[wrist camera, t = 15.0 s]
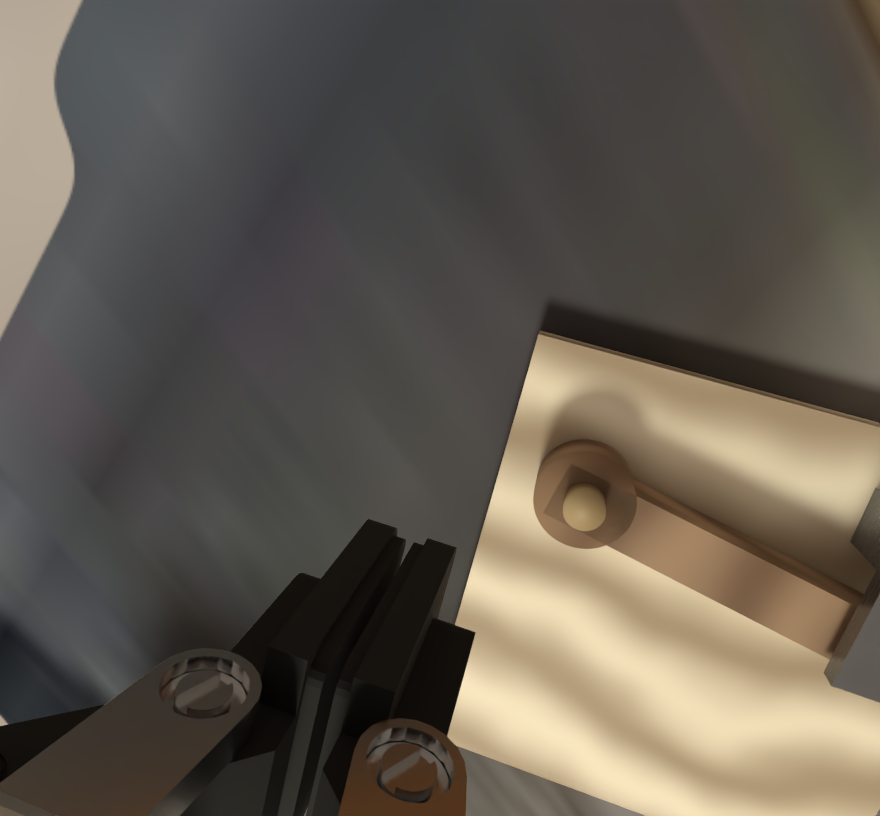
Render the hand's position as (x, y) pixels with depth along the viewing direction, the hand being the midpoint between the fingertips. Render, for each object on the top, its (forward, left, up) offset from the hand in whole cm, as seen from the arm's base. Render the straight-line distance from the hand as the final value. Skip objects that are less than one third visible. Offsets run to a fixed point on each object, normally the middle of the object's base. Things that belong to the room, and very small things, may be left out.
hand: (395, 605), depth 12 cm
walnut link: (+6, +13, -23) cm, 27 cm away
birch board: (+11, +13, -25) cm, 30 cm away
